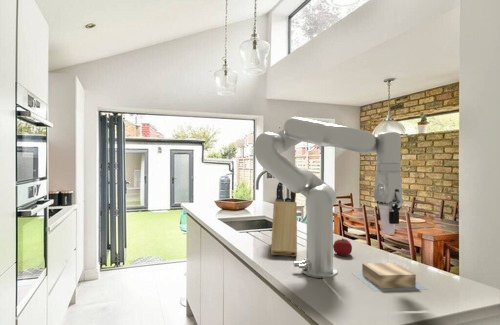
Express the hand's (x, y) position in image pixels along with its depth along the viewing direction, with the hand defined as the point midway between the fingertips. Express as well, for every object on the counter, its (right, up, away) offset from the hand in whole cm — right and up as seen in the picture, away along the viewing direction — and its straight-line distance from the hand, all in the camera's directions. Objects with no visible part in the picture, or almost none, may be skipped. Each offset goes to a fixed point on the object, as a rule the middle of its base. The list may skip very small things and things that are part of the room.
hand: (388, 221), depth 104 cm
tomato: (-6, -21, +32) cm, 39 cm away
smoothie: (0, -4, 0) cm, 4 cm away
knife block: (-30, -21, +43) cm, 57 cm away
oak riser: (0, -20, 0) cm, 20 cm away
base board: (0, -21, 0) cm, 21 cm away
